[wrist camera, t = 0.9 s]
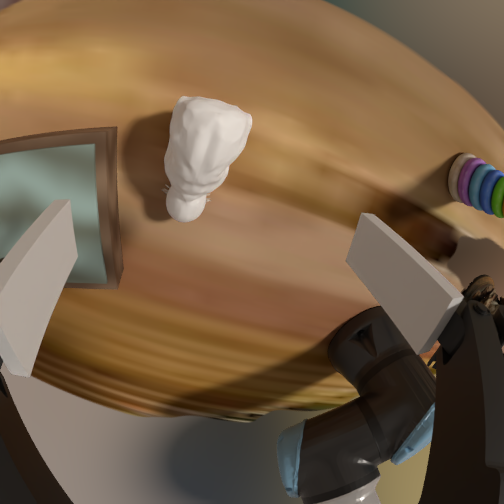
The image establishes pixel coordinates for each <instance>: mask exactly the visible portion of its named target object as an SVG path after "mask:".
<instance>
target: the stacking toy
mask: <svg viewBox="0 0 504 504" xmlns="http://www.w3.org/2000/svg"><path fill="white" fill-rule="evenodd" d="M448 186H449V191H450V194H451V196H452V197H453V199H454V200H456V201H457V202H460V203H464V204H465V205H467V206H473V207H474V208H475V209H477V210H481V211H482V210H483V211H484V212H485V213H487V214H490V215H492V214H495V216H497V217H499V218H504V174H503V173H502V172H501V171H499V170H495V168H494V167H493V166H491V165H489V164H486V163H485V162H484V161H483V160H482V159H480V158H476V157H475V156H474V155H473V154H470V153H464V154H461V155H460V156H458V157H457V158H456V160H455V161H454V163H453V165H452V167H451V169H450V172H449V177H448Z"/></svg>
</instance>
